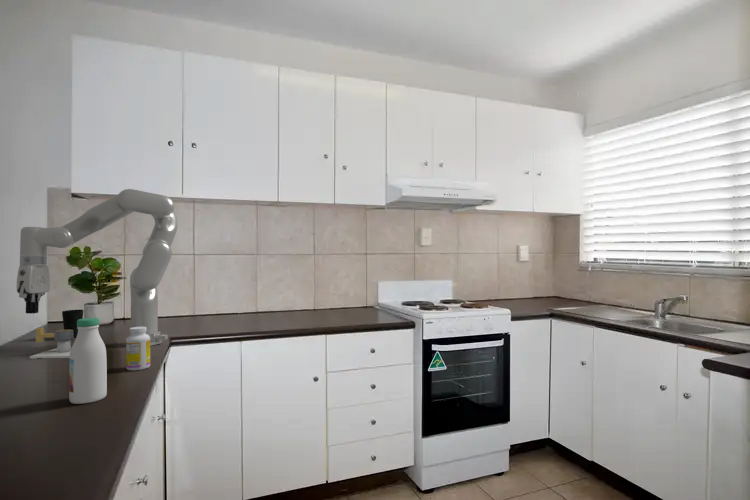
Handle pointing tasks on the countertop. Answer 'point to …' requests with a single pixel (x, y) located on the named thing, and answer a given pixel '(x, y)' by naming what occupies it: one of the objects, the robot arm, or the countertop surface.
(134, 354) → the supplement bottle
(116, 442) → the countertop surface
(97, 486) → the countertop surface
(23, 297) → the robot arm
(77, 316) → the cup
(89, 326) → the milk bottle
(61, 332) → the grey yellow elongated block
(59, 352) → the base plate
